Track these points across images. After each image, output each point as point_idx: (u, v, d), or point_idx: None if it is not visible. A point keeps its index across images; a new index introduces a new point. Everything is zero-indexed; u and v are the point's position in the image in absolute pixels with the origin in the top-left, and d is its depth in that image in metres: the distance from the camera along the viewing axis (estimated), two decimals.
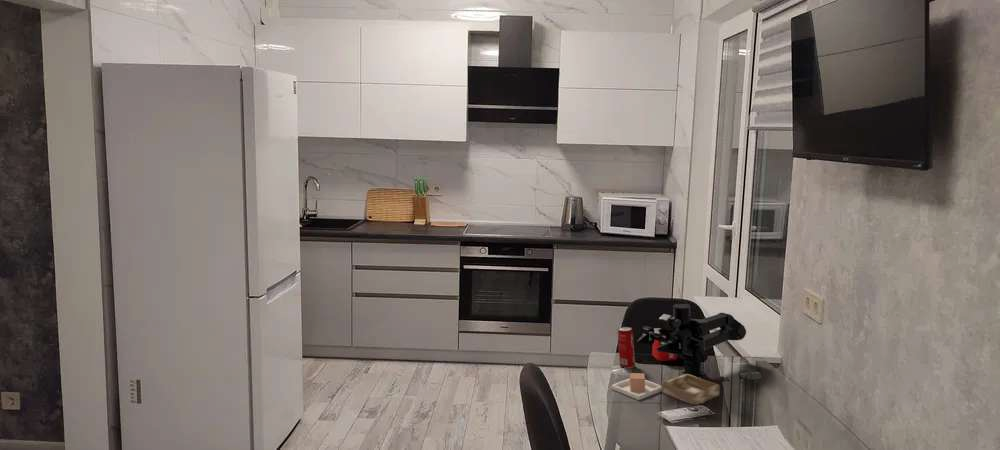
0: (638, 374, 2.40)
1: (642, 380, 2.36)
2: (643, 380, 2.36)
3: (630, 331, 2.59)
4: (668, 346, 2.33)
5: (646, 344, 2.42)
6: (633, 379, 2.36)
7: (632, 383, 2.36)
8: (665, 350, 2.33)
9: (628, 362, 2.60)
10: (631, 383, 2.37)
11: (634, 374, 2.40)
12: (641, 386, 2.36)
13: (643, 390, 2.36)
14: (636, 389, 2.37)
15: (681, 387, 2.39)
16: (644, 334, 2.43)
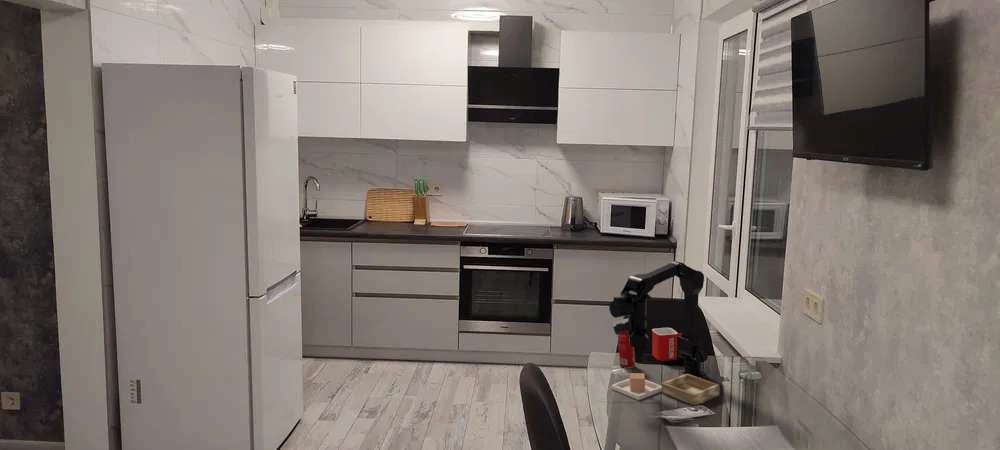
0: (638, 374, 2.40)
1: (642, 380, 2.36)
2: (643, 380, 2.36)
3: None
4: (637, 350, 2.31)
5: None
6: (633, 379, 2.36)
7: (632, 383, 2.36)
8: (641, 353, 2.31)
9: (628, 362, 2.60)
10: (631, 383, 2.37)
11: (634, 374, 2.40)
12: (641, 386, 2.36)
13: (643, 390, 2.36)
14: (636, 389, 2.37)
15: (681, 387, 2.39)
16: None
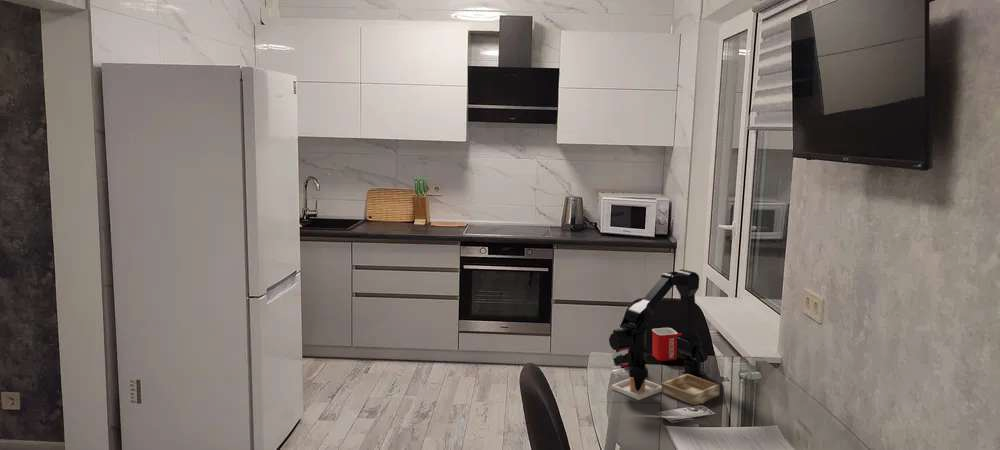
0: None
1: None
2: None
3: None
4: (637, 380, 2.35)
5: None
6: (633, 379, 2.36)
7: (632, 383, 2.36)
8: (640, 382, 2.35)
9: None
10: (631, 383, 2.37)
11: None
12: (641, 386, 2.36)
13: (643, 390, 2.36)
14: None
15: (681, 387, 2.39)
16: None
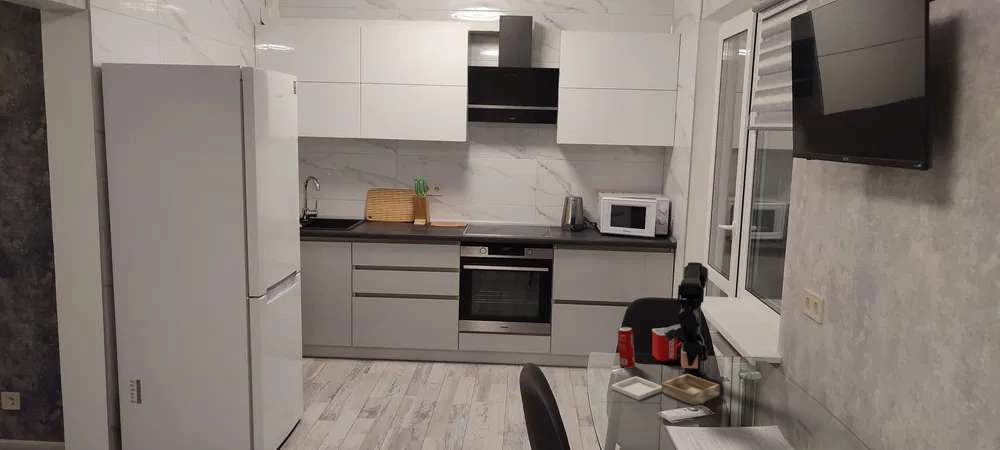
0: None
1: None
2: None
3: (630, 331, 2.59)
4: (690, 355, 2.29)
5: None
6: (685, 355, 2.30)
7: (684, 358, 2.30)
8: (693, 358, 2.29)
9: (628, 362, 2.60)
10: (683, 358, 2.30)
11: None
12: (694, 361, 2.30)
13: (696, 366, 2.30)
14: None
15: (681, 387, 2.39)
16: None
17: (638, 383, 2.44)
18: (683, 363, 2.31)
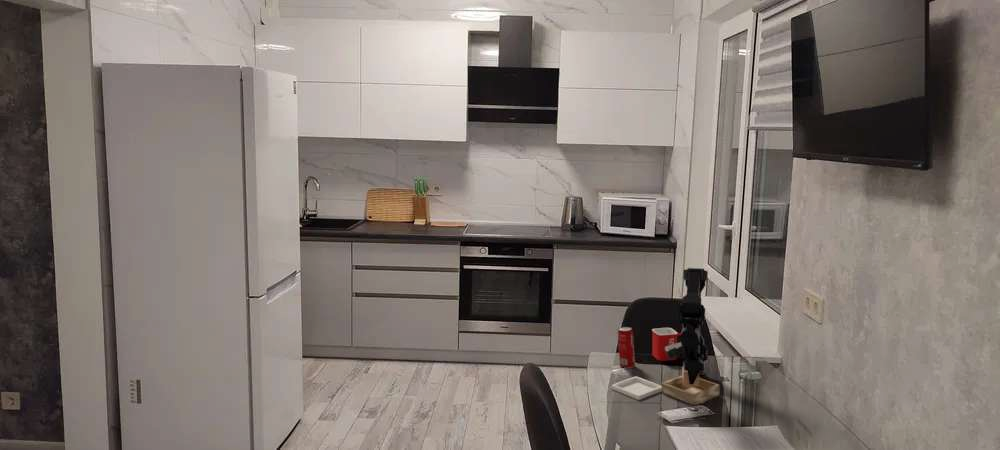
0: None
1: None
2: None
3: (630, 331, 2.59)
4: (691, 373, 2.30)
5: None
6: (687, 373, 2.31)
7: (685, 376, 2.31)
8: (694, 376, 2.30)
9: (628, 362, 2.60)
10: (685, 377, 2.31)
11: None
12: (695, 380, 2.31)
13: (697, 384, 2.31)
14: None
15: (681, 387, 2.39)
16: None
17: (638, 383, 2.44)
18: (684, 381, 2.32)
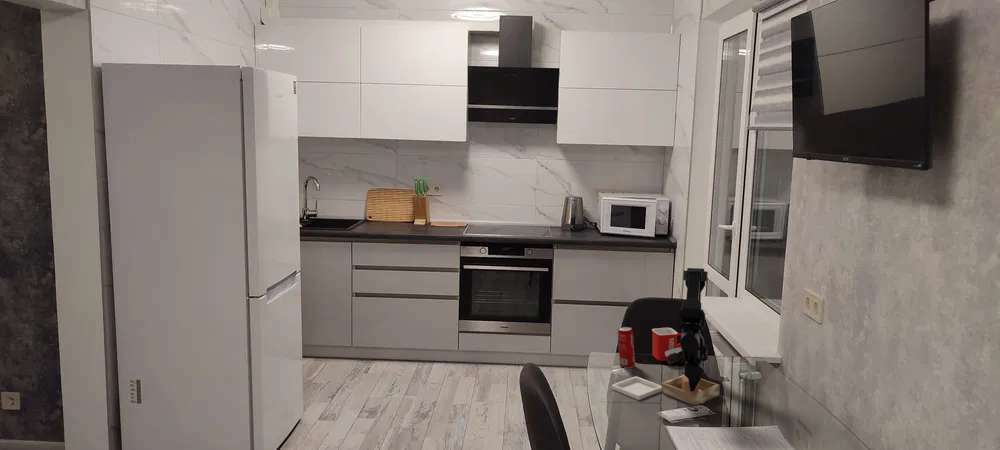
0: None
1: None
2: None
3: (630, 331, 2.59)
4: (692, 380, 2.28)
5: None
6: (687, 383, 2.32)
7: (685, 386, 2.32)
8: (695, 383, 2.28)
9: (628, 362, 2.60)
10: (684, 386, 2.32)
11: None
12: (695, 389, 2.32)
13: None
14: (690, 392, 2.32)
15: (681, 387, 2.39)
16: None
17: (638, 383, 2.44)
18: None
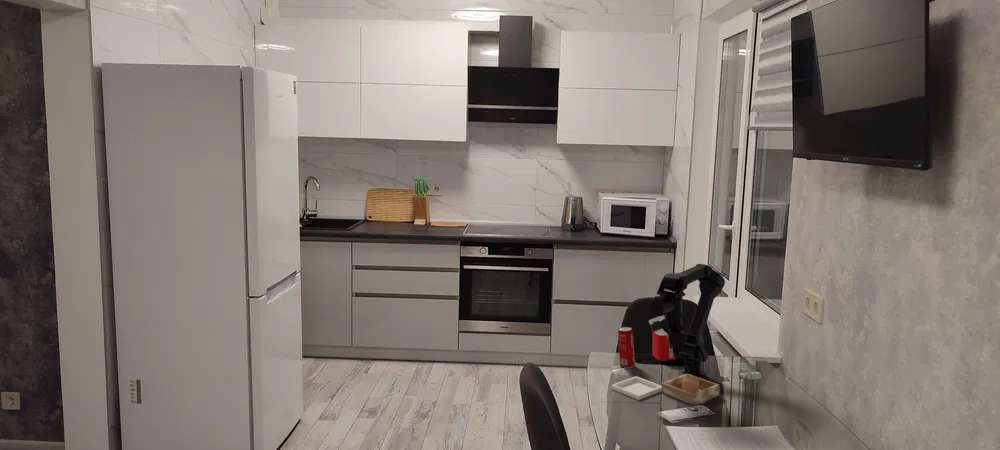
0: (691, 377, 2.35)
1: (696, 383, 2.31)
2: (697, 383, 2.31)
3: (630, 331, 2.59)
4: (675, 346, 2.36)
5: None
6: (687, 383, 2.32)
7: (685, 386, 2.32)
8: (678, 349, 2.36)
9: (628, 362, 2.60)
10: (684, 386, 2.32)
11: (687, 377, 2.35)
12: (695, 389, 2.32)
13: None
14: (690, 392, 2.32)
15: (681, 387, 2.39)
16: None
17: (638, 383, 2.44)
18: None
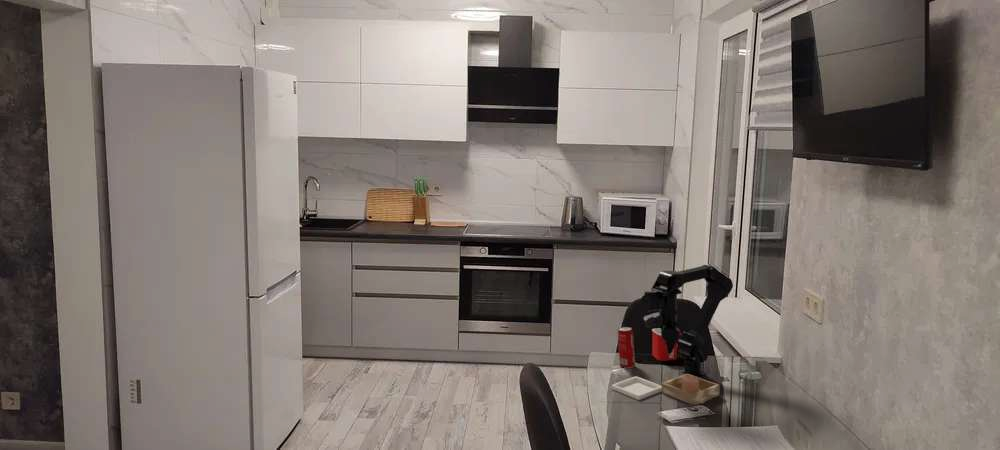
0: (691, 377, 2.35)
1: (696, 383, 2.31)
2: (697, 383, 2.31)
3: (630, 331, 2.59)
4: (669, 343, 2.39)
5: None
6: (687, 383, 2.32)
7: (685, 386, 2.32)
8: (672, 346, 2.39)
9: (628, 362, 2.60)
10: (684, 386, 2.32)
11: (687, 377, 2.35)
12: (695, 389, 2.32)
13: None
14: (690, 392, 2.32)
15: (681, 387, 2.39)
16: None
17: (638, 383, 2.44)
18: None
